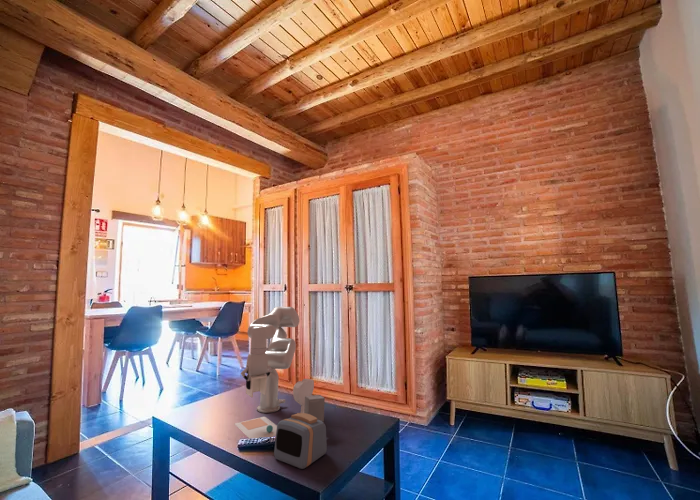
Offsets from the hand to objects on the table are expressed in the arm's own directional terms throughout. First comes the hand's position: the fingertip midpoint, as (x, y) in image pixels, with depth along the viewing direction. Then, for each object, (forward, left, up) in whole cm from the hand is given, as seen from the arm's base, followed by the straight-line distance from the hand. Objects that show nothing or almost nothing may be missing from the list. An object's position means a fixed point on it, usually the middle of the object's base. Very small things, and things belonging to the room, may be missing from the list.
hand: (256, 387), depth 163 cm
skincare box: (-20, +23, -18) cm, 36 cm away
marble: (-2, +13, -16) cm, 21 cm away
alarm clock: (-3, +40, -18) cm, 44 cm away
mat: (0, +7, -18) cm, 19 cm away
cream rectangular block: (0, 0, -3) cm, 3 cm away
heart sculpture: (-26, +3, -18) cm, 32 cm away
